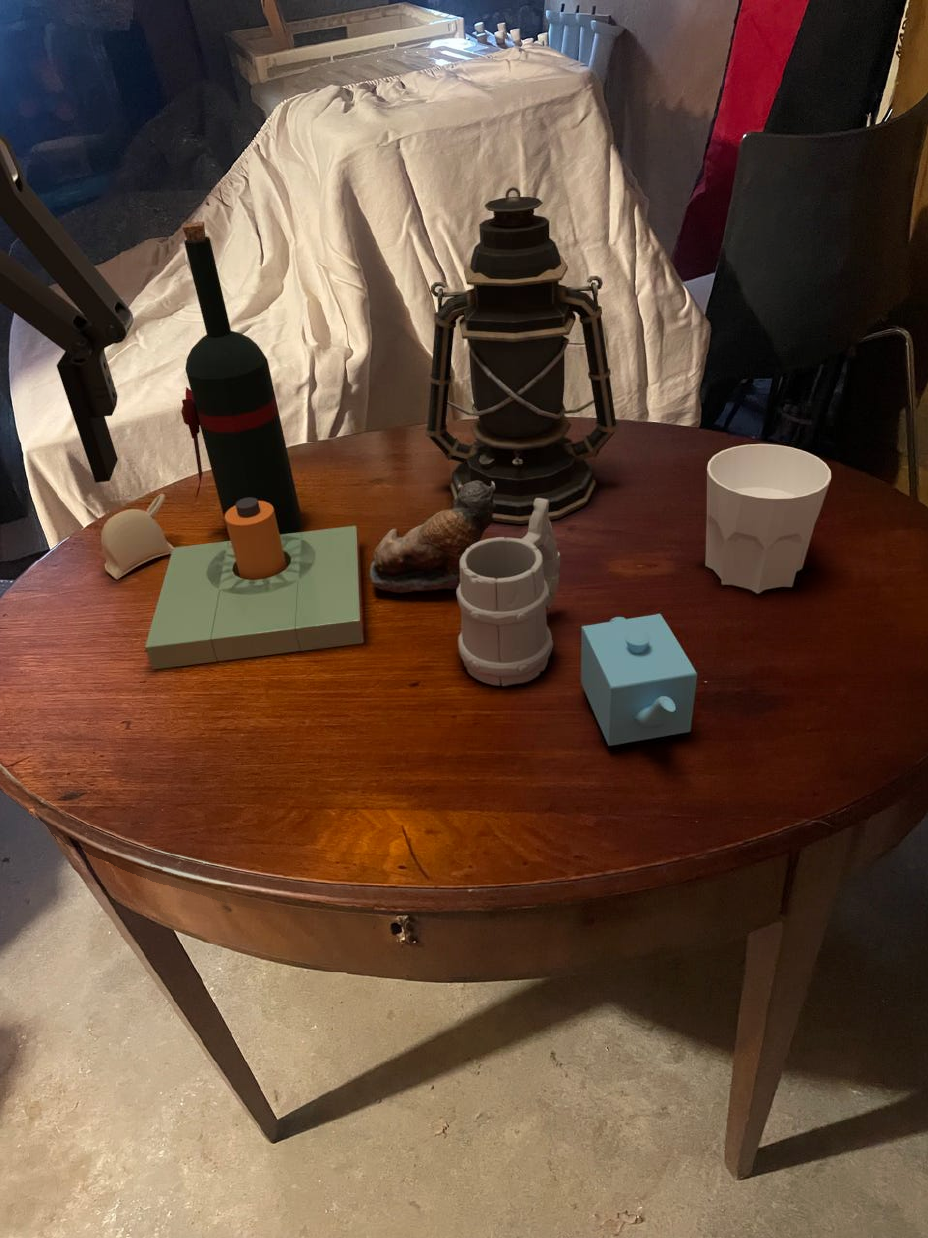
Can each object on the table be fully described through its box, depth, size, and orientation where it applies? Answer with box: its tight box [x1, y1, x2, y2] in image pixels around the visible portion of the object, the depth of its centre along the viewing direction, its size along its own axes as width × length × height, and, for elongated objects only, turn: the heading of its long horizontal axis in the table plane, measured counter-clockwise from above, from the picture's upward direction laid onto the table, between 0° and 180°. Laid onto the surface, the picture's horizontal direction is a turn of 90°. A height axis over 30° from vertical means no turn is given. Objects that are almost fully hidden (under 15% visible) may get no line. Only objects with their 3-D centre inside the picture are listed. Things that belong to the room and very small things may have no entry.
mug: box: [455, 498, 561, 687], centre depth 70 cm, size 8×12×12 cm, turn 145°
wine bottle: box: [180, 221, 304, 538], centre depth 83 cm, size 8×10×30 cm
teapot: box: [580, 613, 698, 747], centre depth 63 cm, size 12×6×8 cm, turn 10°
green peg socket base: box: [144, 525, 365, 671], centre depth 81 cm, size 18×16×2 cm
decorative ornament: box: [100, 493, 174, 581], centre depth 88 cm, size 4×8×5 cm, turn 133°
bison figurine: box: [369, 481, 496, 594], centre depth 79 cm, size 12×7×10 cm, turn 91°
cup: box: [704, 443, 832, 595], centre depth 78 cm, size 10×10×10 cm
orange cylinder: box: [224, 497, 287, 580], centre depth 81 cm, size 4×4×9 cm
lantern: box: [425, 186, 619, 526], centre depth 87 cm, size 20×16×30 cm
